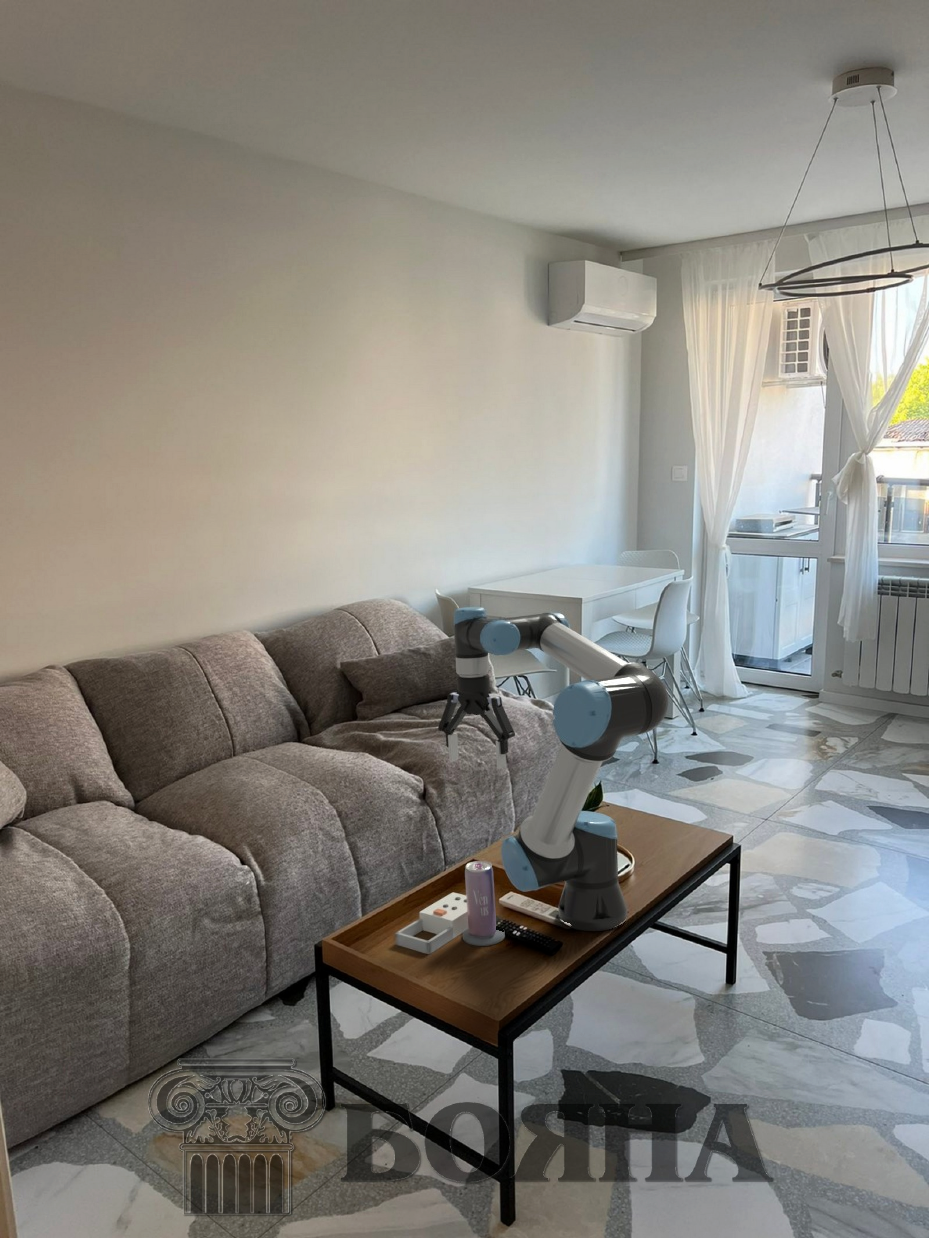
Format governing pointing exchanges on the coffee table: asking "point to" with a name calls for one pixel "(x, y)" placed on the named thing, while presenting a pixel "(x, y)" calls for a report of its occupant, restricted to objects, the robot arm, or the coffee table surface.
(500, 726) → the robot arm
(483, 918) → the beverage can
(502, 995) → the coffee table surface
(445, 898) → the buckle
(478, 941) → the coaster
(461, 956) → the coffee table surface
